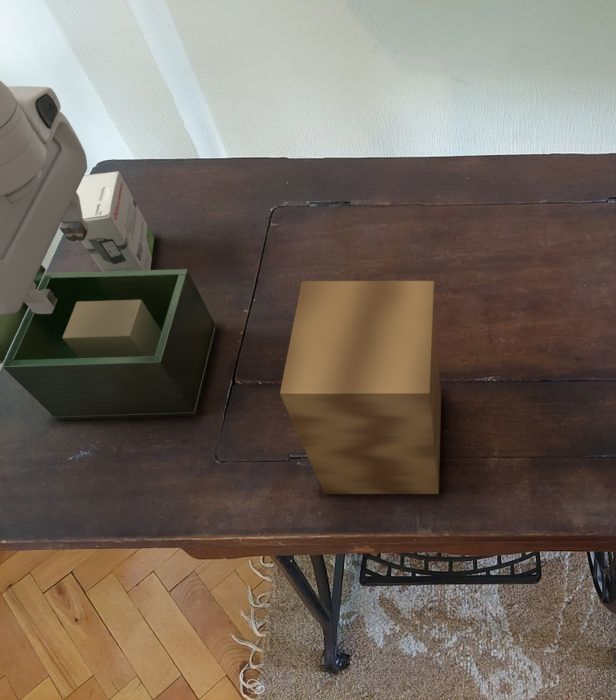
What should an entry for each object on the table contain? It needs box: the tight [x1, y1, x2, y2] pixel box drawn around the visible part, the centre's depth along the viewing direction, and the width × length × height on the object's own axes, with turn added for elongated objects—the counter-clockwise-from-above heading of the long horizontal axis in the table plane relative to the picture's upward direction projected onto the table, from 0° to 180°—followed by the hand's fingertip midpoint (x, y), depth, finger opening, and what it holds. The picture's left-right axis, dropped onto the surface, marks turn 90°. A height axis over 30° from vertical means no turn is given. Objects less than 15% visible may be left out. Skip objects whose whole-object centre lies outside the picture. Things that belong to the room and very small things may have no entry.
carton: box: [62, 300, 162, 358], centre depth 73 cm, size 5×7×9 cm
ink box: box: [76, 170, 155, 272], centre depth 83 cm, size 9×5×12 cm, turn 10°
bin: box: [2, 268, 218, 421], centre depth 73 cm, size 16×13×11 cm
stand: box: [279, 280, 442, 495], centre depth 63 cm, size 12×12×20 cm
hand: (64, 270), depth 62 cm, fingers open, 8 cm apart
